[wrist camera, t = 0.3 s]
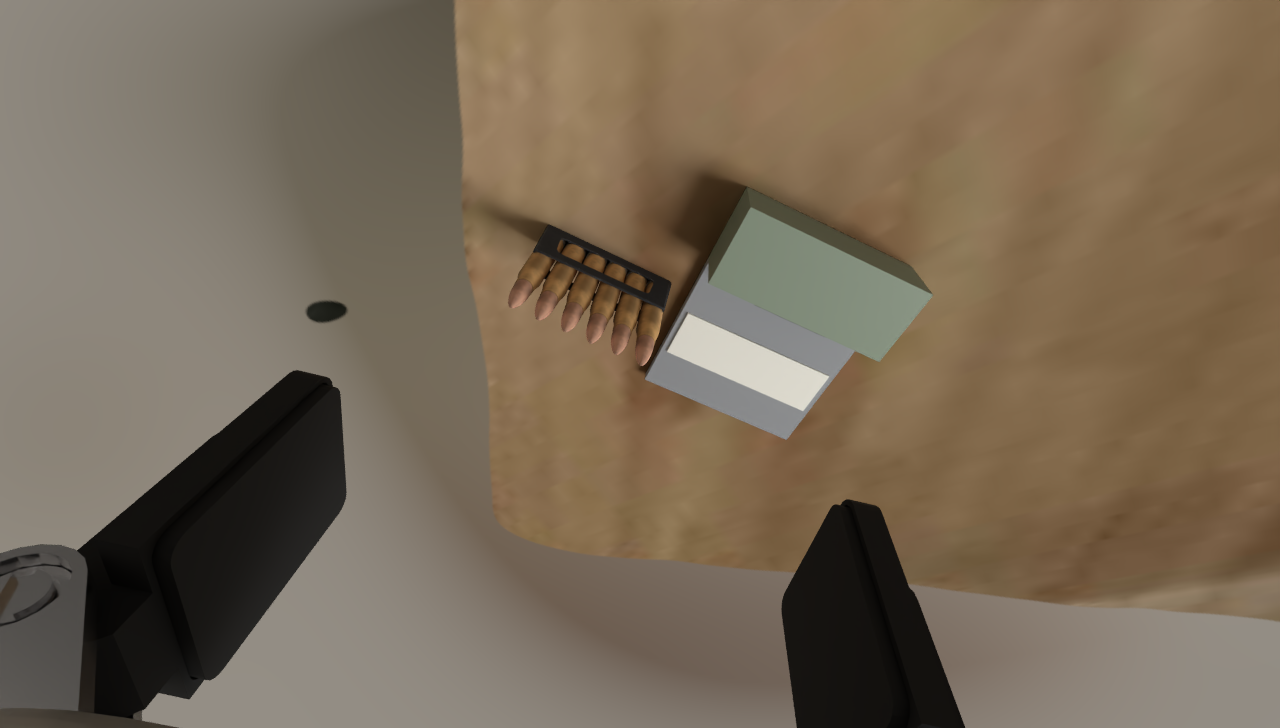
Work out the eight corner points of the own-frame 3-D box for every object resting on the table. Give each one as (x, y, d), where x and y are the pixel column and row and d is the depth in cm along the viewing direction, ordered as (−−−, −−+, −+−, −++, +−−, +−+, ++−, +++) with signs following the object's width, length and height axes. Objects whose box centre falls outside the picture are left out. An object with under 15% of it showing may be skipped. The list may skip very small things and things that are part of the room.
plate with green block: (746, 186, 42) (750, 207, 38) (911, 266, 44) (933, 295, 39) (646, 373, 51) (640, 406, 47) (785, 432, 53) (791, 469, 49)
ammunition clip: (672, 282, 46) (660, 360, 36) (662, 300, 47) (648, 381, 37) (548, 223, 45) (500, 288, 35) (540, 244, 46) (491, 312, 36)
